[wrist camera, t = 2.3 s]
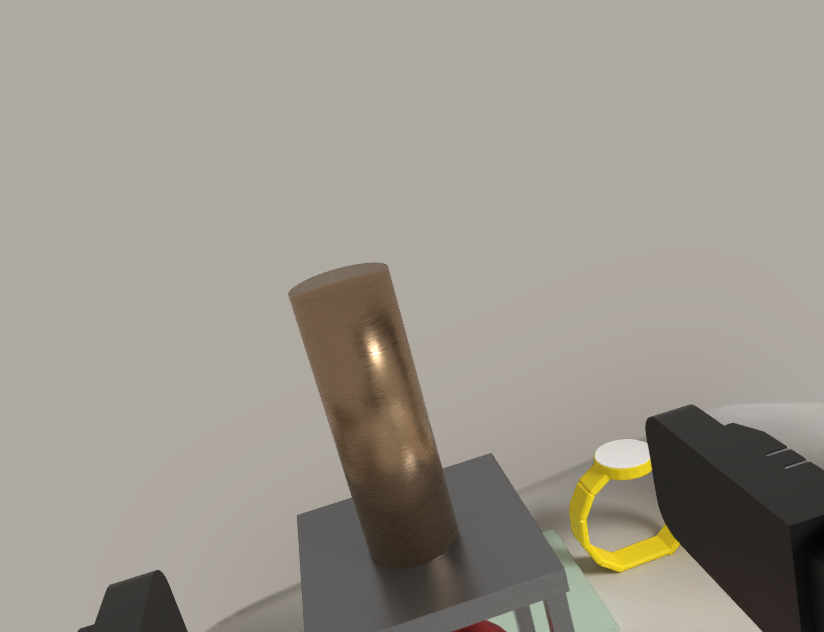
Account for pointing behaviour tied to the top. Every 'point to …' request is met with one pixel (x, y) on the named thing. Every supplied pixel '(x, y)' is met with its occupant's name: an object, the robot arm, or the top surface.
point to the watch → (609, 463)
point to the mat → (585, 605)
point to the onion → (482, 627)
